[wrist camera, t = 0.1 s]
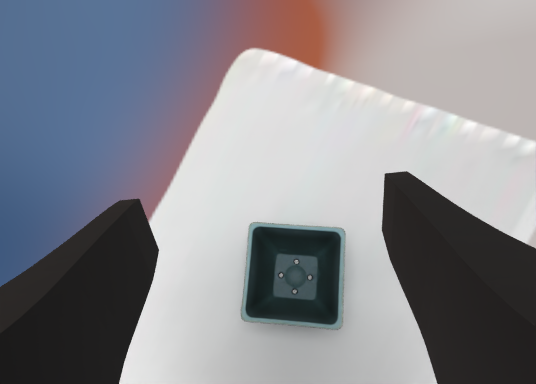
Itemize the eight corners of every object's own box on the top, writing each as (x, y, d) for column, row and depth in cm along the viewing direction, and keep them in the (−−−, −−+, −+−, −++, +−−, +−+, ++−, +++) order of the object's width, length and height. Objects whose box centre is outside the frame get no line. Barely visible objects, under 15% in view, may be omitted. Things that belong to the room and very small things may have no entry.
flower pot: (334, 322, 40) (342, 331, 31) (253, 315, 41) (239, 321, 32) (337, 240, 42) (345, 227, 34) (260, 235, 43) (248, 221, 35)
